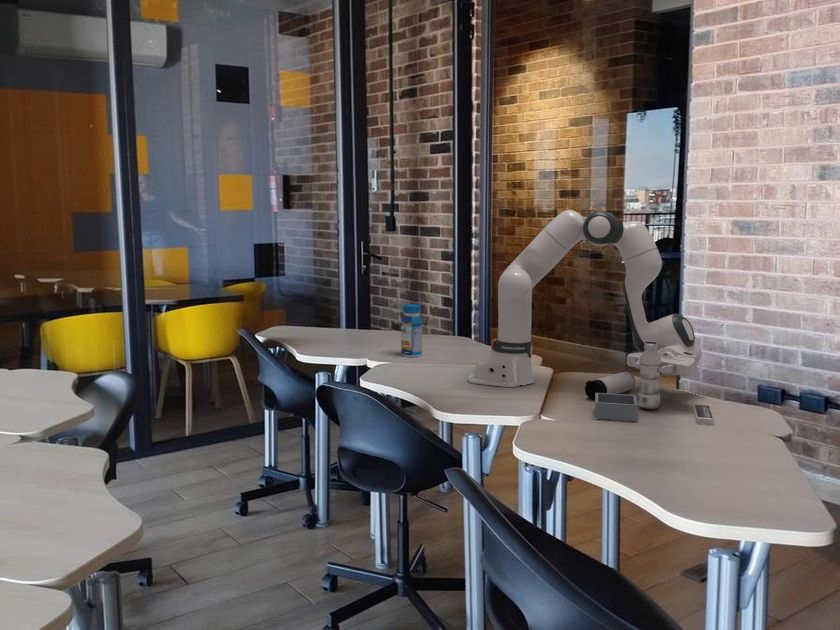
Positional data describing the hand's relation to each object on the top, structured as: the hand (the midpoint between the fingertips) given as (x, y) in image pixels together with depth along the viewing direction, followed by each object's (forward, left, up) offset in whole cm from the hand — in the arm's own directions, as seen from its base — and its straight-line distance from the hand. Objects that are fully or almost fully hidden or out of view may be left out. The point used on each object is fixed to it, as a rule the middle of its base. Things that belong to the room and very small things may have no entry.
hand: (648, 367), depth 236 cm
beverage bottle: (-85, +59, -13) cm, 104 cm away
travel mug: (-5, +23, -9) cm, 25 cm away
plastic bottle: (+1, +1, -13) cm, 13 cm away
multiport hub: (+15, -5, -13) cm, 21 cm away
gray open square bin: (-9, -8, -13) cm, 18 cm away
